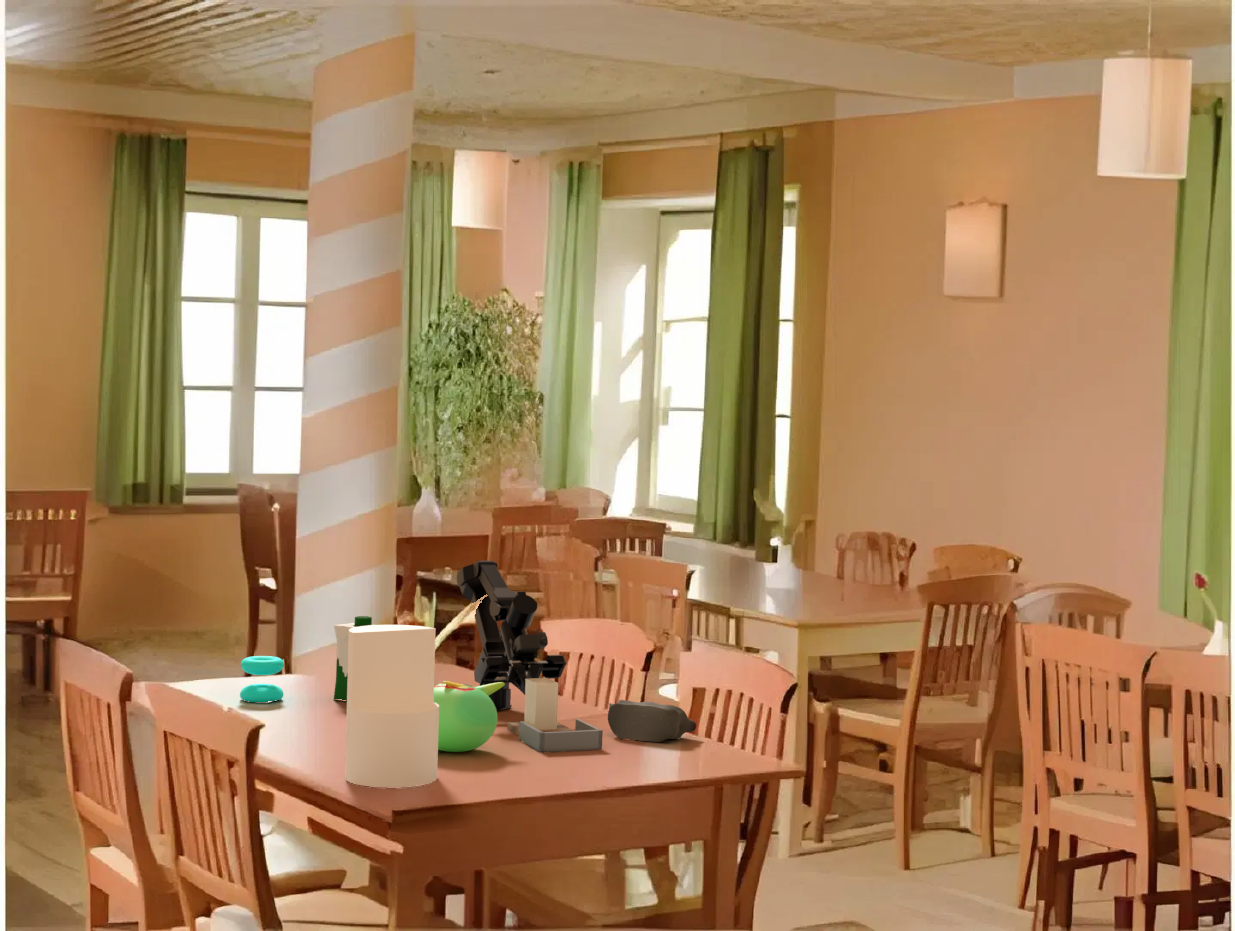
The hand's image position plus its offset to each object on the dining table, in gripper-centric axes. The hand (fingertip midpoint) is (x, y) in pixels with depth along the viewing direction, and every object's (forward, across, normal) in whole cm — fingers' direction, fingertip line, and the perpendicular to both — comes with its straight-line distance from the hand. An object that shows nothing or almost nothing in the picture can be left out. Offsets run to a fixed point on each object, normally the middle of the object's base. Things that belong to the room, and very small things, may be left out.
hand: (531, 698), depth 371 cm
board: (+9, 0, +1) cm, 9 cm away
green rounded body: (+18, -23, -8) cm, 31 cm away
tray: (+18, 0, -8) cm, 20 cm away
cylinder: (+34, -42, -24) cm, 59 cm away
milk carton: (-26, -29, +36) cm, 53 cm away
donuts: (-29, -50, +38) cm, 70 cm away
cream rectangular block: (+8, 0, -1) cm, 8 cm away
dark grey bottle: (+15, +22, -5) cm, 27 cm away
